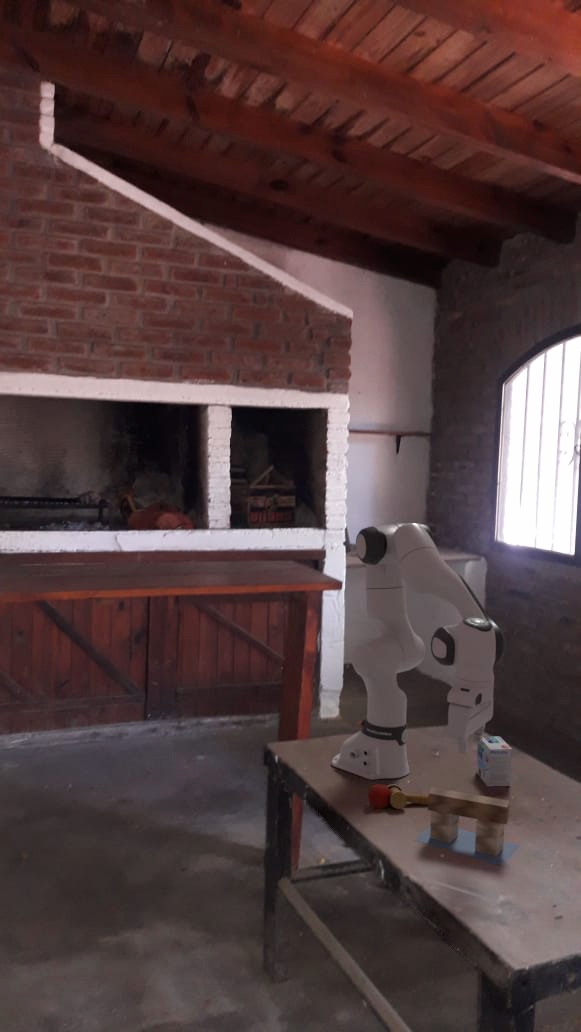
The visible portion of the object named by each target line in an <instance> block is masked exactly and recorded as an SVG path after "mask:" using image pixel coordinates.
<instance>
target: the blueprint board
mask: <svg viewBox="0 0 581 1032" xmlns="http://www.w3.org/2000/svg"><path fill="white" fill-rule="evenodd" d="M430 828H431V824H430V825H429V826H428V827H427V828H426V829H425V830H424V831H422V832H421V833H420V834H419V835H418V836H417V837H416V838H415V839H414V840H413V841H415V842H418V843H422V844H425V845H428V846H432V847H435V848H438V849H441V850H445V851H448V852H452V853H454V854H459V855H463V856H466V857H469V858H472V859H475V860H479V861H483V862H486V863H489V864H492V865H495V866H499V867H504V865H505V864H506V862H507V861H508V859H510V857H511V856H512V855H513V853H514V852H515V851H516V850H517V848H518V847H519V845H518V844H515V843H511V842H507V841H504V844H503V849H502V850H501V852H500V853H499V854H498V855H497V857H495V856H492V855H488V854H485V853H481V852H478V851H475V839H476V832H471V831H468V830H464V829H461V828H458V836H457V837H456V838H455V839H454V840H453V841H452V842H451V843H447V842H444V841H440V840H437V839H433V838H430Z"/></svg>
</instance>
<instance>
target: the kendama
mask: <svg viewBox="0 0 581 1032" xmlns="http://www.w3.org/2000/svg"><path fill="white" fill-rule="evenodd" d="M428 796H429V794H419V793H415V794H414V793H411V794H410V793H407V794H405V793H404V792H403V791H402V789H401V787H400V786H399V785H397V784H395V783H392V784H388V785H387V786H386V785H385V784H382V783H377V784H374V785H373V786H371V788H369V790H368V794H367V798H368V802H369V804H370V805H371V806H372V808H374V809H385V808H387V807H388V806H391V807H392V808H394V809H395V810H401V809H404V808H405V807H406V806H407V803H408V802H409V803H411V804H417V805H424V806H428Z"/></svg>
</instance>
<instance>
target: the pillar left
mask: <svg viewBox="0 0 581 1032" xmlns="http://www.w3.org/2000/svg"><path fill="white" fill-rule="evenodd" d="M430 813H431V814H430V825H431V828H430V838H433V839H437V840H440V841H444V842H447V843H451V842H452V841H453V840H454V839H455V838H456V837H457V836H458V829H459V823H460V822H459V820H460V819H459V818H460V816H458V815H452V814H447V813H441V812H436V811H431V810H430Z"/></svg>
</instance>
